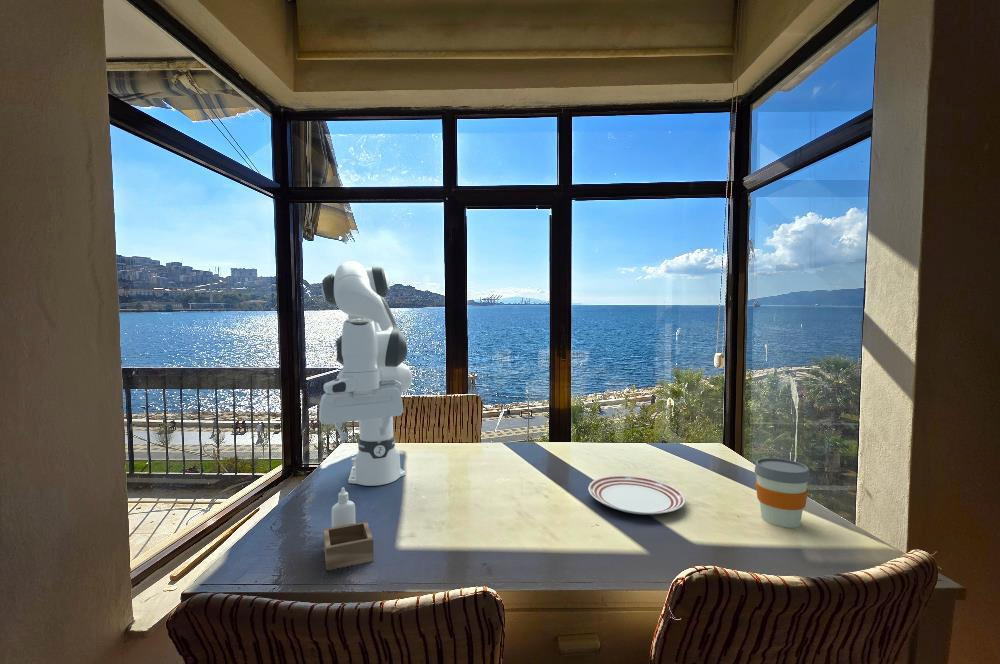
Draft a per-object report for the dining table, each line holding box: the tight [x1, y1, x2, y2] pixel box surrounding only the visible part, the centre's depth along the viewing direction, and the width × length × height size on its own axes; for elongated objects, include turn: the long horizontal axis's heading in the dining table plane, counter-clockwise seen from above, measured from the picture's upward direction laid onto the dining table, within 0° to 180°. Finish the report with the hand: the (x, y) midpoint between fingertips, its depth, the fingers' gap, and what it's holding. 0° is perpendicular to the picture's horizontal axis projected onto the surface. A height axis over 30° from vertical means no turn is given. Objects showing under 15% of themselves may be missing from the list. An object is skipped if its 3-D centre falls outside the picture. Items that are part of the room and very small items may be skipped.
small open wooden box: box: [323, 520, 375, 571], centre depth 107 cm, size 10×10×5 cm
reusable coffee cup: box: [754, 457, 810, 529], centre depth 124 cm, size 12×13×15 cm
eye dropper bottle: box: [331, 487, 357, 528], centre depth 117 cm, size 4×6×12 cm
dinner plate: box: [587, 474, 686, 516], centre depth 137 cm, size 28×27×3 cm
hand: (363, 437), depth 116 cm, fingers open, 8 cm apart
